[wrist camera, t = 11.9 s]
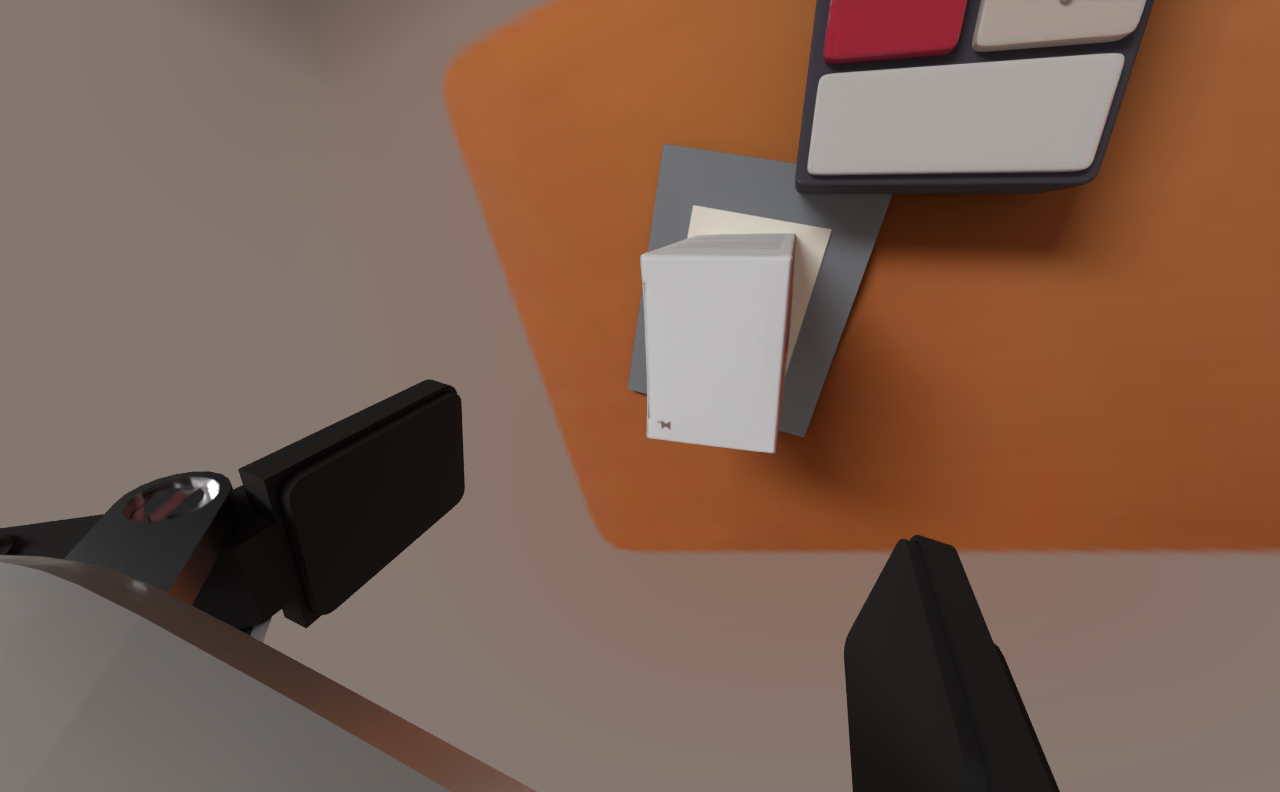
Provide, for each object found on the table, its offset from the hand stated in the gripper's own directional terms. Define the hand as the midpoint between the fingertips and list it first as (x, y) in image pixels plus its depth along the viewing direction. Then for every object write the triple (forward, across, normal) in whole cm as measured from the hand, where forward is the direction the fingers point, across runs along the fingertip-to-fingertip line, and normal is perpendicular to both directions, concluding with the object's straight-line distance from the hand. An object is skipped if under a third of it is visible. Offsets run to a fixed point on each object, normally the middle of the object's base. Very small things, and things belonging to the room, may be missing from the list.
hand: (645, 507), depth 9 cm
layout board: (+20, +1, 0) cm, 20 cm away
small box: (+20, +1, 0) cm, 20 cm away
